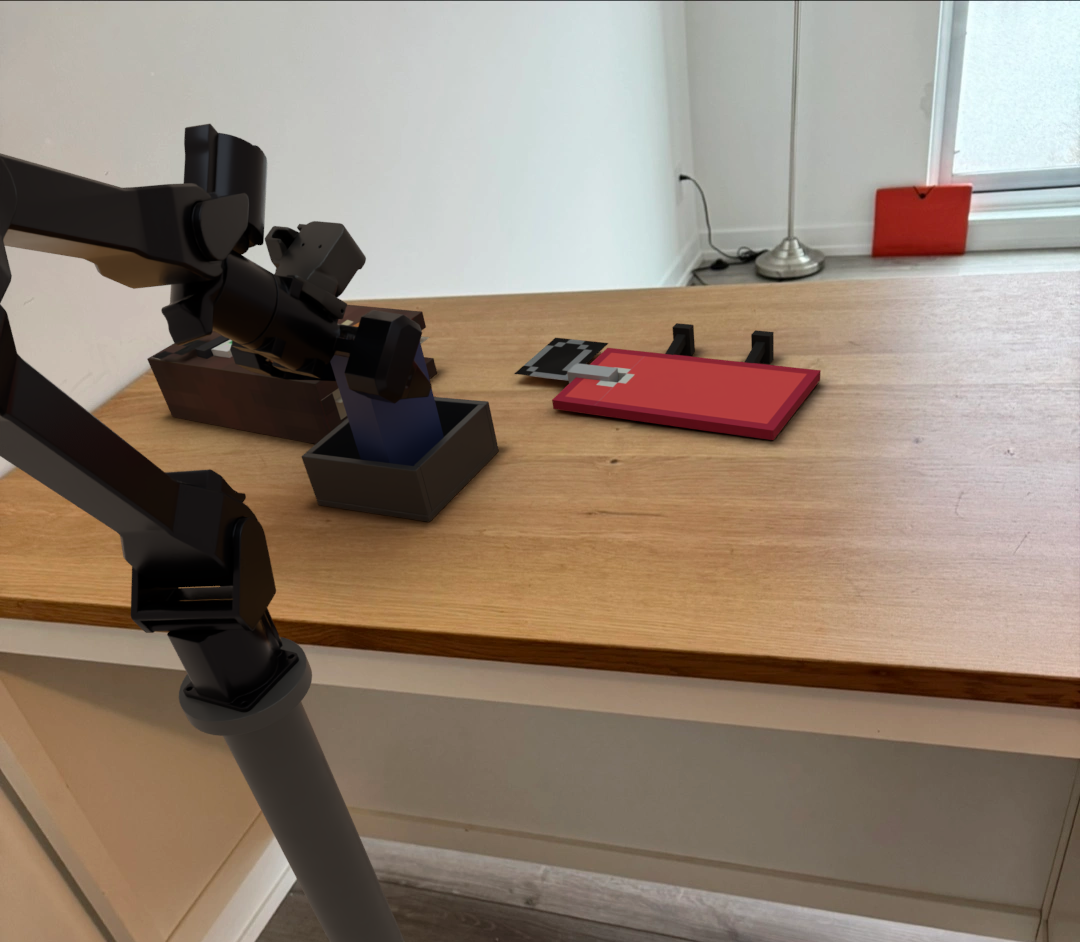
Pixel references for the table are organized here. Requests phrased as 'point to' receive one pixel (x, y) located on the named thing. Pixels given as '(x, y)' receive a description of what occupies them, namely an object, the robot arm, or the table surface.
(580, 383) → the red board with handle
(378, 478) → the bin
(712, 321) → the table surface
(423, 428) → the block
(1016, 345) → the table surface
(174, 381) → the decorative book
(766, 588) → the table surface
